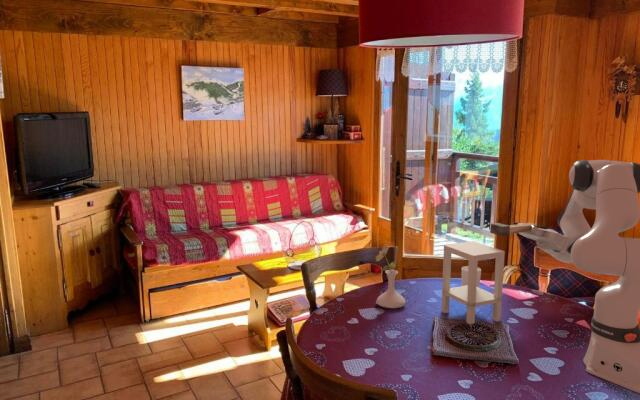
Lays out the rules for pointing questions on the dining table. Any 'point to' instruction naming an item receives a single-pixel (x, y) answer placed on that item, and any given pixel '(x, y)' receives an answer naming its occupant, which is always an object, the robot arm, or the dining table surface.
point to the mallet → (510, 228)
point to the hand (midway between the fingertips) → (527, 226)
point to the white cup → (465, 276)
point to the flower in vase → (390, 296)
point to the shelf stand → (473, 279)
